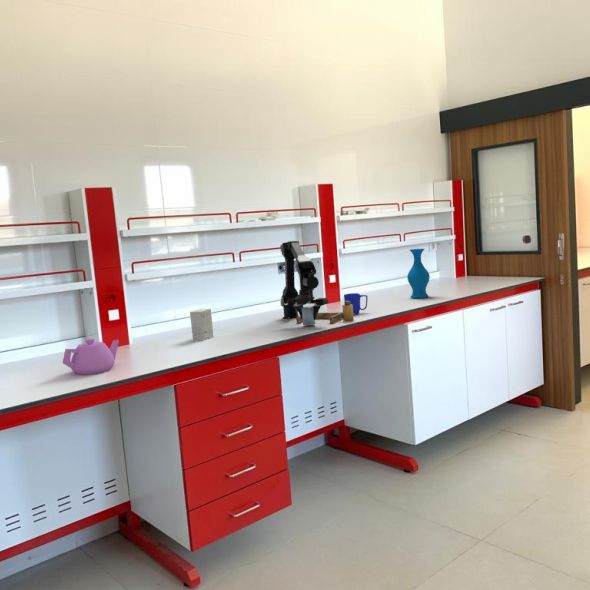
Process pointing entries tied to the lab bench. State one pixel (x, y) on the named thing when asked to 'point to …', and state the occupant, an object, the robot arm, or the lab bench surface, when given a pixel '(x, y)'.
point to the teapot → (91, 357)
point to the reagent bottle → (347, 311)
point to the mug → (355, 301)
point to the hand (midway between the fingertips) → (308, 319)
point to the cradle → (325, 317)
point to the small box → (201, 324)
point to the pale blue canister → (308, 315)
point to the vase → (418, 276)
